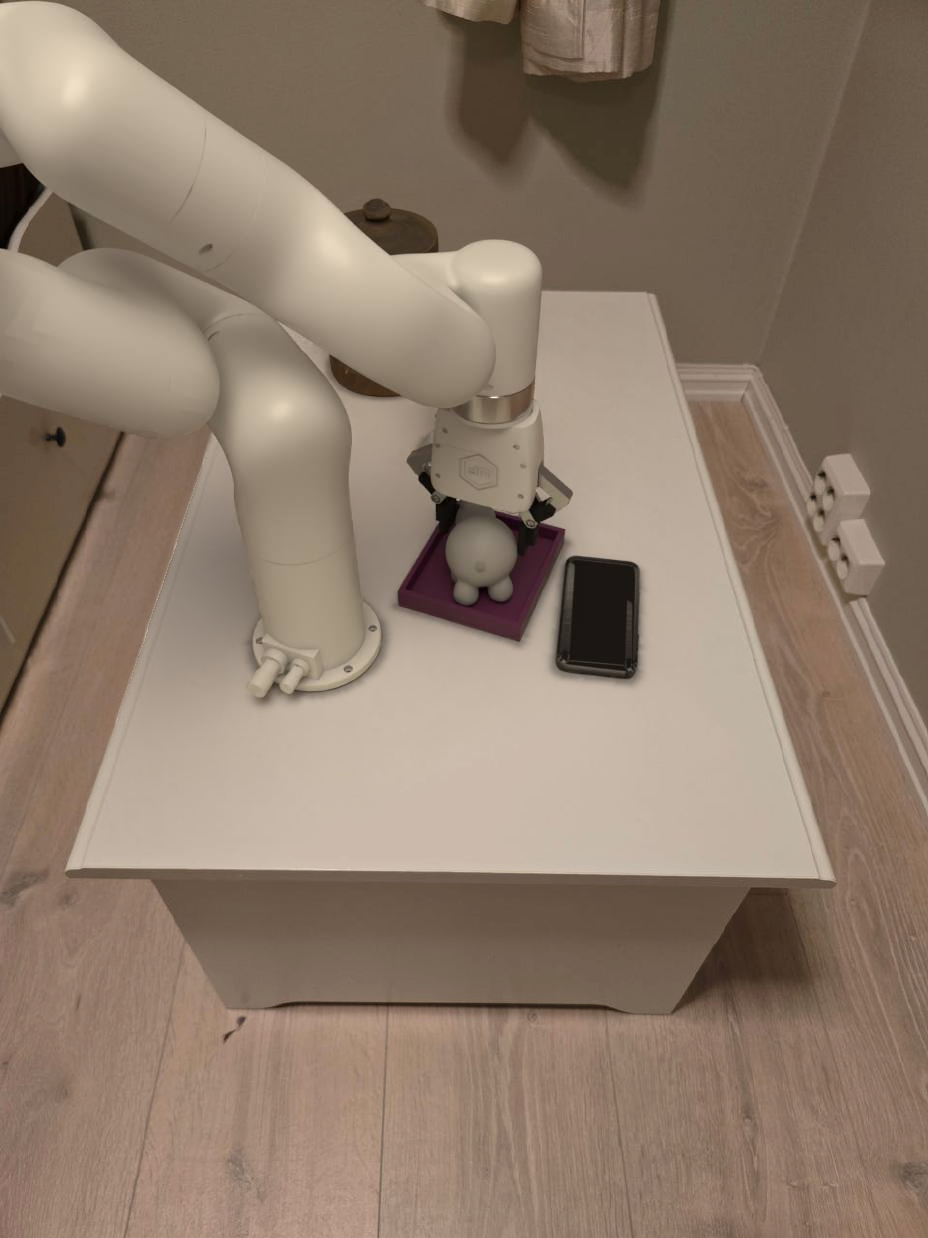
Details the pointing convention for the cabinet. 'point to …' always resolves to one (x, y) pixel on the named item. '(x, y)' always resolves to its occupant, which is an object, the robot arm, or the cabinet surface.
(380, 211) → the wooden container
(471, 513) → the chubby cartoon animal
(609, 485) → the cabinet surface
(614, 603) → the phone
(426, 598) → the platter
